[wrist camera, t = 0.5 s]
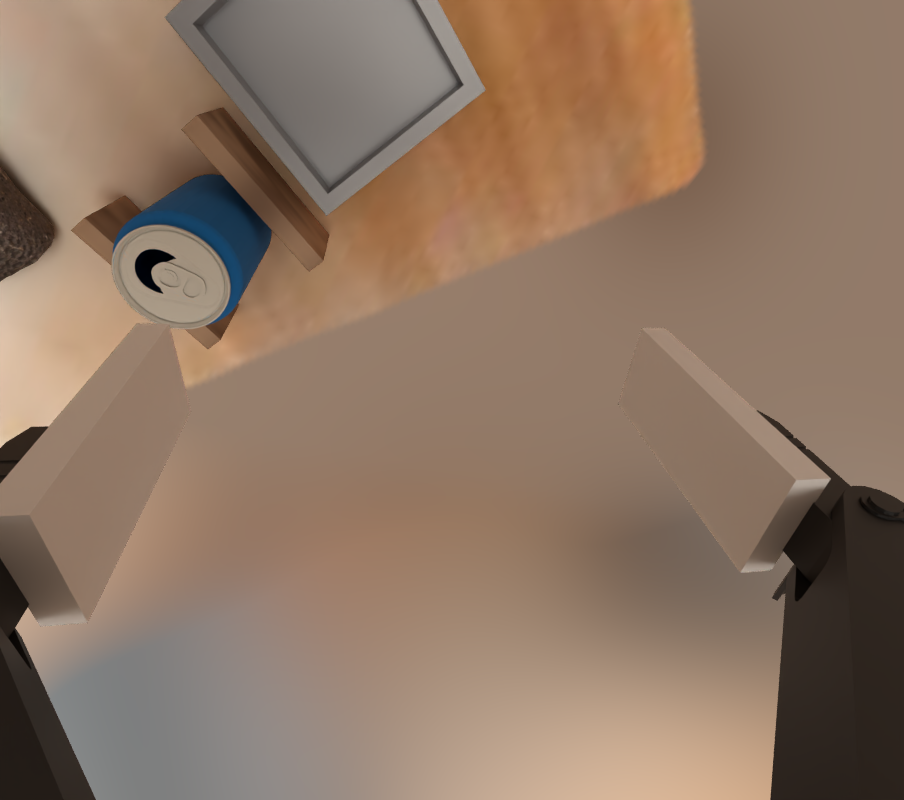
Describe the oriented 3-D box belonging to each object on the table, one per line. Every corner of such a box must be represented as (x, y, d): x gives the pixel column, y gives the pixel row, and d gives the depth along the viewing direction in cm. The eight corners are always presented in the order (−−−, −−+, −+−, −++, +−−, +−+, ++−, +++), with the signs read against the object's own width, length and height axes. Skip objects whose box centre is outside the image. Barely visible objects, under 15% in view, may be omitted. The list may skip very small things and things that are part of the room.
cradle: (113, 206, 35) (70, 230, 30) (223, 107, 33) (197, 115, 28) (227, 313, 40) (207, 349, 35) (329, 234, 38) (323, 260, 33)
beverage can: (193, 152, 34) (120, 189, 24) (287, 204, 36) (256, 257, 26) (164, 237, 36) (87, 303, 26) (253, 280, 39) (214, 355, 29)
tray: (178, 20, 30) (164, 17, 28) (350, -148, 27) (348, -165, 25) (328, 207, 37) (326, 215, 35) (478, 88, 34) (485, 90, 32)
